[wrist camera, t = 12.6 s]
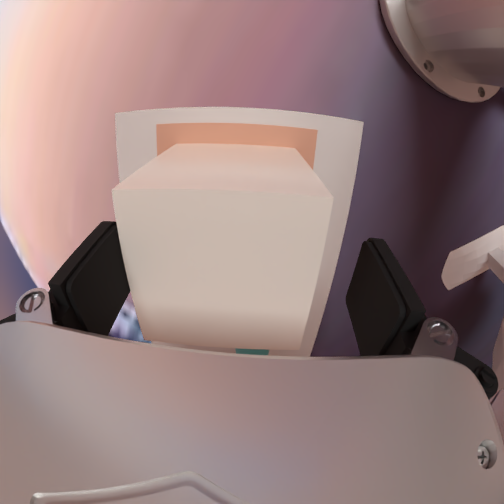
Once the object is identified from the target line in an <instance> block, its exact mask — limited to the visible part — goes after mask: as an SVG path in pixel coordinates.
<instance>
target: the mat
mask: <svg viewBox="0 0 504 504" xmlns="http://www.w3.org/2000/svg"><path fill="white" fill-rule="evenodd" d="M363 123H364V122H361V121H356V120H351V119H346V118H340V117H334V116H327V115H320V114H313V113H305V112H296V111H287V110H275V109H262V108H242V107H182V108H163V109H149V110H139V111H129V112H121V113H115V126H116V146H117V160H118V171H119V181H120V183H121V182H122V181H123V180H125V179H126V178H127V177H129V176H130V175H132V174H133V173H134V172H136V171H137V170H138V169H140V168H141V167H143V166H144V165H145V164H147V163H148V162H150V161H151V160H153V159H154V158H155V157H157V156H158V155H160V154H161V153H163V152H164V151H166V150H167V149H169V148H170V147H172V146H173V145H175V144H187V143H208V144H244V145H262V146H276V147H288V148H295V149H296V150H297V151H298V152H299V153H300V155H301V156H302V157H303V158H304V160H305V161H306V162H307V163H308V165H309V166H310V167H311V168H312V170H313V171H314V172H315V174H316V175H317V176H318V177H319V179H320V180H321V181H322V183H323V184H324V185H325V187H326V188H327V189H328V191H329V192H330V193H331V195H332V196H333V197H334V199H333V205H332V210H331V216H330V221H329V226H328V231H327V236H326V241H325V246H324V251H323V256H322V260H321V265H320V270H319V274H318V278H317V283H316V287H315V291H314V295H313V300H312V304H311V308H310V312H309V316H308V320H307V323H306V327H305V331H304V335H303V338H302V342H301V346H300V349H299V350H269V354H268V356H295V357H310V354H311V351H312V348H313V345H314V342H315V339H316V336H317V333H318V329H319V326H320V323H321V320H322V316H323V313H324V309H325V306H326V302H327V299H328V295H329V292H330V288H331V284H332V280H333V277H334V273H335V269H336V265H337V261H338V257H339V253H340V249H341V244H342V240H343V236H344V231H345V227H346V222H347V217H348V213H349V208H350V203H351V198H352V192H353V187H354V181H355V176H356V170H357V164H358V158H359V151H360V145H361V138H362V131H363ZM151 342H152V344H156V345H163V346H170V347H178V348H186V349H194V350H203V351H213V352H224V353H236V351H235V348H221V347H207V346H195V345H184V344H174V343H165V342H157V341H151Z"/></svg>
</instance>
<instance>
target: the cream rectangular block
mask: <svg viewBox="0 0 504 504" xmlns="http://www.w3.org/2000/svg"><path fill="white" fill-rule="evenodd" d="M112 197H113V204H114V211H115V218H116V224H117V230H118V235H119V241H120V246H121V251H122V256H123V261H124V265H125V270H126V274H127V279H128V283H129V287H130V291H131V295H132V299H133V303H134V307H135V310H136V314H137V317H138V321H139V324H140V328H141V331H142V334H143V338H144V340H149V341H157V342H165V343H174V344H184V345H195V346H207V347H221V348H239V349H266V350H299V349H300V346H301V342H302V338H303V335H304V331H305V327H306V323H307V320H308V316H309V312H310V308H311V304H312V300H313V295H314V291H315V287H316V283H317V278H318V274H319V270H320V265H321V260H322V256H323V251H324V246H325V241H326V236H327V231H328V226H329V221H330V216H331V210H332V205H333V199H334V197H333V196H332V195H331V193H330V192H329V191H328V189H327V188H326V187H325V185H324V184H323V183H322V181H321V180H320V179H319V177H318V176H317V175H316V174H315V172H314V171H313V170H312V168H311V167H310V166H309V165H308V163H307V162H306V161H305V160H304V158H303V157H302V156H301V155H300V153H299V152H298V151H297V150H296V149H295V148H288V147H276V146H262V145H244V144H208V143H187V144H175V145H173V146H172V147H170V148H169V149H167V150H166V151H164V152H163V153H161V154H160V155H158V156H157V157H155V158H154V159H153V160H151V161H150V162H148V163H147V164H145V165H144V166H143V167H141V168H140V169H138V170H137V171H136V172H134V173H133V174H132V175H130V176H129V177H127V178H126V179H125V180H123V181H122V182H121V183H120V184H118V185H117V186H116V187H114V188H113V189H112Z"/></svg>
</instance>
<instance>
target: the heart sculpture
mask: <svg viewBox="0 0 504 504" xmlns="http://www.w3.org/2000/svg"><path fill="white" fill-rule="evenodd" d="M488 269H491V270H492V271H493V272H494V273H495V275H496V276H497V277H498V278H499V279H500V280H501V281H502V282H503V283H504V225H503V226H501V227H499V228H497V229H496V230H494V231H492V232H490V233H488V234H486V235H484V236H482V237H480V238H478V239H476V240H474V241H472V242H470V243H468V244H466V245H464V246H462V247H460V248H458V249H456V250H454V251H451V252H450V253H449V256H448V258H447V260H446V263H445V265H444V268H443V272H442V276H441V277H442V281H443V283H444V285H445V287H446V288H447V289H448V290H450V289H452V288H454V287H456V286H458V285H460V284H462V283H464V282H466V281H468V280H470V279H472V278H473V277H475V276H477V275H479V274H481V273H483V272H484V271H486V270H488ZM492 370H493V371H494V373H495V374H496V376H497V379H498V391H500V390H501V389H503V390H504V317H503V320H502V323H501V326H500V330H499V333H498V337H497V340H496V343H495V346H494V349H493V365H492Z"/></svg>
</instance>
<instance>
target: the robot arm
mask: <svg viewBox="0 0 504 504" xmlns="http://www.w3.org/2000/svg"><path fill="white" fill-rule="evenodd" d="M379 1H380V6H381V12H382V15H383V18H384V21H385V24H386V27H387V29H388V31H389V33H390V35H391V37H392V39H393V41H394V43H395V44H396V46H397V47H398V49H399V51H400V52H401V54H402V55H403V57H404V58H405V59H406V61H407V62H408V63H409V64H410V66H411V67H412V68H413V69H414V71H415V72H416V73H417V74H418V75H419V76H420V77H421V78H422V79H423V80H424V81H425V82H427V83H428V84H429V85H431V86H432V87H433V88H434V89H436V90H437V91H439V92H440V93H442V94H444V95H446V96H448V97H450V98H453V99H456V100H459V101H465V102H471V103H474V102H483V101H485V100H488V99H490V98H491V97H492V96H494V95H495V94H496V93H497V92H498V90H499V89H500V88H501V87H504V0H379ZM48 284H49V287H50V291H49V292H47V291H46V290H45V289H43V288H35V289H31V290H30V291H27V292H26V293H25V294H23V295H22V296H21V297H20V299H19V300H18V302H17V304H16V314H13V315H11V316H9V317H7V318H5V319H3V320H1V321H0V504H504V390H503V389H501V390H500V391H498V379H497V376H496V374H495V373H494V371H493V370H492V369H491V368H490V367H489V366H487V365H486V364H484V363H482V362H481V361H479V360H478V359H476V358H475V357H473V356H472V355H470V354H468V353H467V352H465V351H464V350H462V349H460V348H459V347H457V344H458V336H457V332H456V331H455V329H454V327H453V326H452V325H451V324H450V323H448V322H447V321H445V320H443V319H441V318H437V317H431V318H428V319H427V318H426V316H425V315H424V313H425V312H426V310H425V308H424V306H423V304H422V303H421V301H420V299H419V297H418V295H417V294H416V292H415V290H414V288H413V286H412V285H411V283H410V281H409V280H408V278H407V276H406V274H405V273H404V271H403V269H402V268H401V266H400V265H399V263H398V261H397V260H396V258H395V256H394V255H393V253H392V252H391V250H390V249H389V247H388V245H387V244H386V242H385V241H384V240H383V239H377V238H369V239H368V240H367V241H364V242H363V244H362V247H361V250H360V254H359V257H358V260H357V264H356V267H355V270H354V273H353V277H352V280H351V283H350V286H349V289H348V292H347V295H346V305H347V308H348V311H349V315H350V318H351V321H352V325H353V329H354V332H355V336H356V339H357V343H358V347H359V350H360V354H361V356H350V357H295V356H268V355H250V354H236V353H224V352H213V351H203V350H194V349H186V348H178V347H170V346H163V345H156V344H150V343H143V342H137V341H131V340H126V339H120V338H115V337H110V336H108V334H109V332H110V330H111V328H112V326H113V324H114V322H115V320H116V318H117V316H118V314H119V312H120V310H121V308H122V306H123V304H124V302H125V300H126V298H127V296H128V294H129V292H130V287H129V283H128V279H127V274H126V270H125V265H124V261H123V256H122V251H121V246H120V241H119V235H118V230H117V224H116V222H110V221H103V222H101V223H100V224H99V225H98V226H97V227H96V228H95V229H94V230H93V232H92V233H91V234H90V235H89V236H88V237H87V238H86V239H85V240H84V241H83V242H82V243H81V245H80V246H79V247H78V248H77V249H76V250H75V251H74V252H73V254H72V255H71V256H70V257H69V258H68V259H67V261H66V262H65V263H64V264H63V265H62V266H61V268H60V269H59V270H58V271H57V273H56V274H55V275H54V276H53V277H52V279H51V280H50V281H49V282H48Z"/></svg>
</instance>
